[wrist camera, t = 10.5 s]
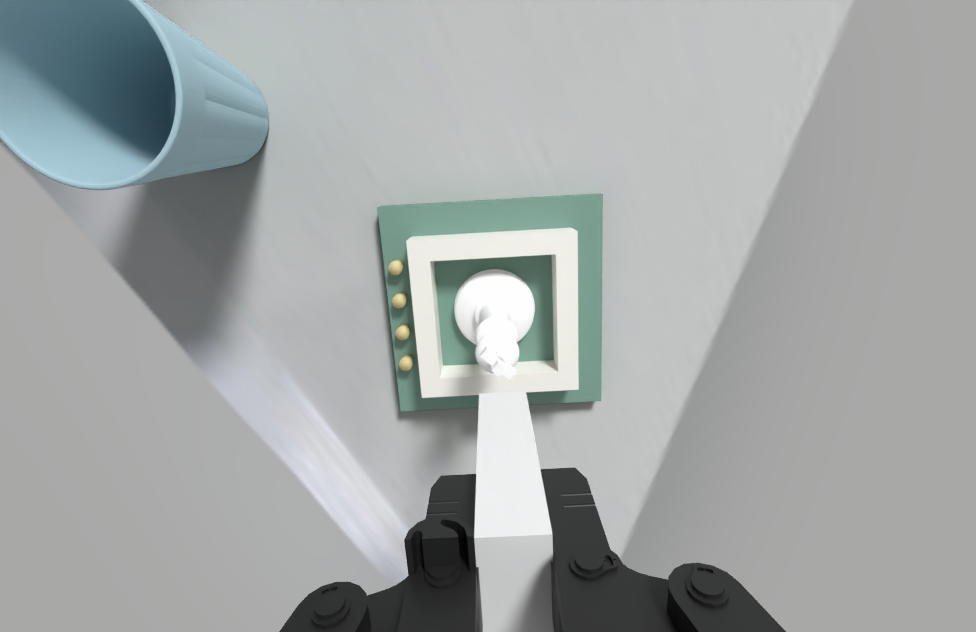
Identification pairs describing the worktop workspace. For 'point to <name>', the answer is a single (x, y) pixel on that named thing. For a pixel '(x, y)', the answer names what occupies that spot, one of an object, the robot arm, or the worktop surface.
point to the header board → (506, 246)
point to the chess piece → (495, 317)
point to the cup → (119, 95)
